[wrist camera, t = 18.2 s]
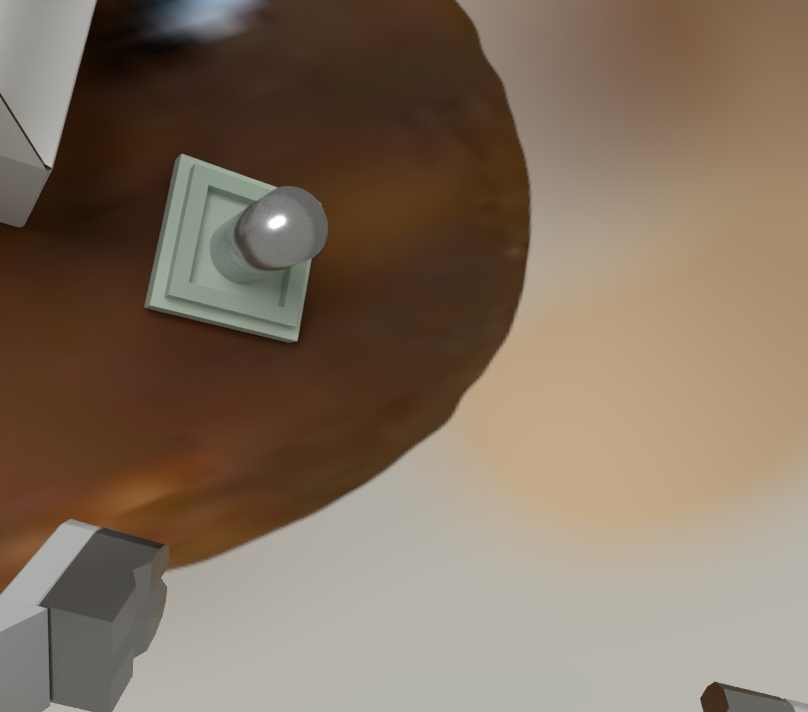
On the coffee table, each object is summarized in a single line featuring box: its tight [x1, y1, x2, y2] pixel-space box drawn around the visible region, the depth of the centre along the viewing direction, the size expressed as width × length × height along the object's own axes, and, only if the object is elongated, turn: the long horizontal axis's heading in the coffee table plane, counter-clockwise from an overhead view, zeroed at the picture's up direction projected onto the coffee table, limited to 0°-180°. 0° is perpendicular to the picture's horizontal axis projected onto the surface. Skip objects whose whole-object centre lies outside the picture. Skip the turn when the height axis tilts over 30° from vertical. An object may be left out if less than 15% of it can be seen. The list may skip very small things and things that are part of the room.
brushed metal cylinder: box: [210, 186, 328, 284], centre depth 64 cm, size 6×6×12 cm
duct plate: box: [144, 154, 321, 343], centre depth 69 cm, size 14×14×4 cm
